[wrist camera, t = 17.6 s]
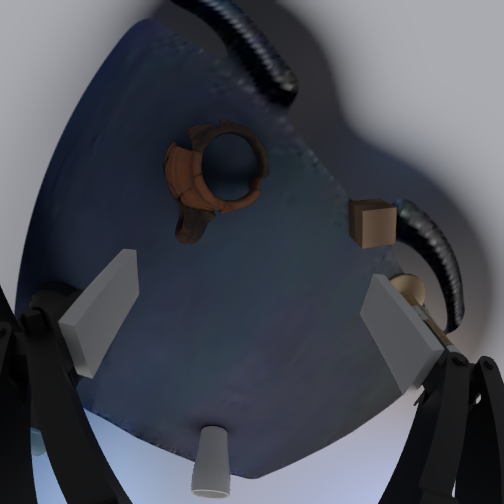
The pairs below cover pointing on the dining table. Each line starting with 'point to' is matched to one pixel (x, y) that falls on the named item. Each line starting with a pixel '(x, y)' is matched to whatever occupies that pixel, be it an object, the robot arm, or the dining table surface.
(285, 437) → the dining table surface
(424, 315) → the sprinkles bottle
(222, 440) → the drinking glass
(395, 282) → the cork coaster
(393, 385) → the dining table surface
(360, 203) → the walnut block
